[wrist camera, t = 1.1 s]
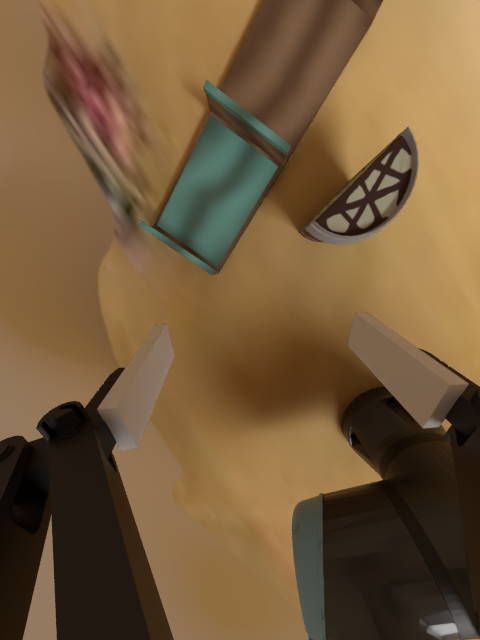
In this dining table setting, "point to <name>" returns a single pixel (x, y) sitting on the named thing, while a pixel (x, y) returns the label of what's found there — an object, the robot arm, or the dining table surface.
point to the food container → (369, 196)
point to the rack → (258, 121)
